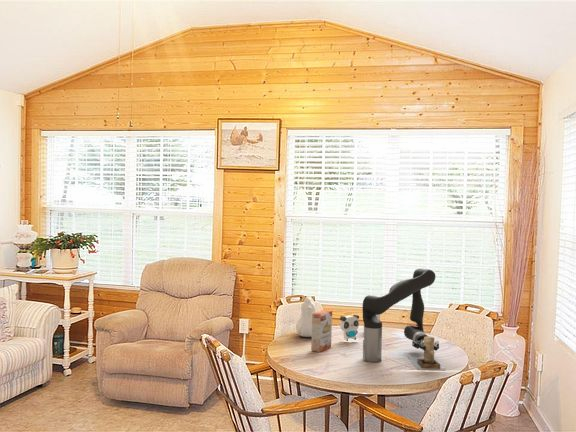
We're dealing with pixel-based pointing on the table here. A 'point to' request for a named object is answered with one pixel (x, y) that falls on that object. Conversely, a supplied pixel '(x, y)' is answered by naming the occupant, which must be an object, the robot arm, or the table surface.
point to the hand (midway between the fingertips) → (430, 348)
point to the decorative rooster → (306, 318)
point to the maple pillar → (429, 349)
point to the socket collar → (428, 364)
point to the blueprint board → (414, 361)
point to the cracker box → (321, 330)
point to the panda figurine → (349, 326)
